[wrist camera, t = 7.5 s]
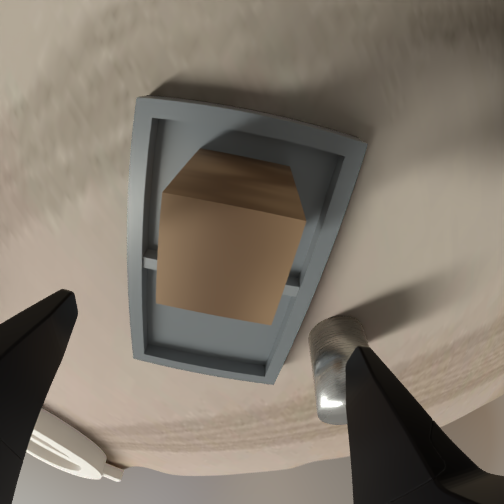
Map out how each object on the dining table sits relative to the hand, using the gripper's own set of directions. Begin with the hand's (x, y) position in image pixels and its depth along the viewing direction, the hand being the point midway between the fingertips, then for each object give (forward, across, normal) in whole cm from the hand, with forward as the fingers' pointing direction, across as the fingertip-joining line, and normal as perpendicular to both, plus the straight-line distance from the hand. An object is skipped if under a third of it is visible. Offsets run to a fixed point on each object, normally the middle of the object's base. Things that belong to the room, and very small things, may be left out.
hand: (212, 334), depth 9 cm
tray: (+11, 0, +5) cm, 12 cm away
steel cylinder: (+11, -10, +10) cm, 18 cm away
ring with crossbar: (+12, +30, +53) cm, 62 cm away
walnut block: (+10, 0, 0) cm, 10 cm away
